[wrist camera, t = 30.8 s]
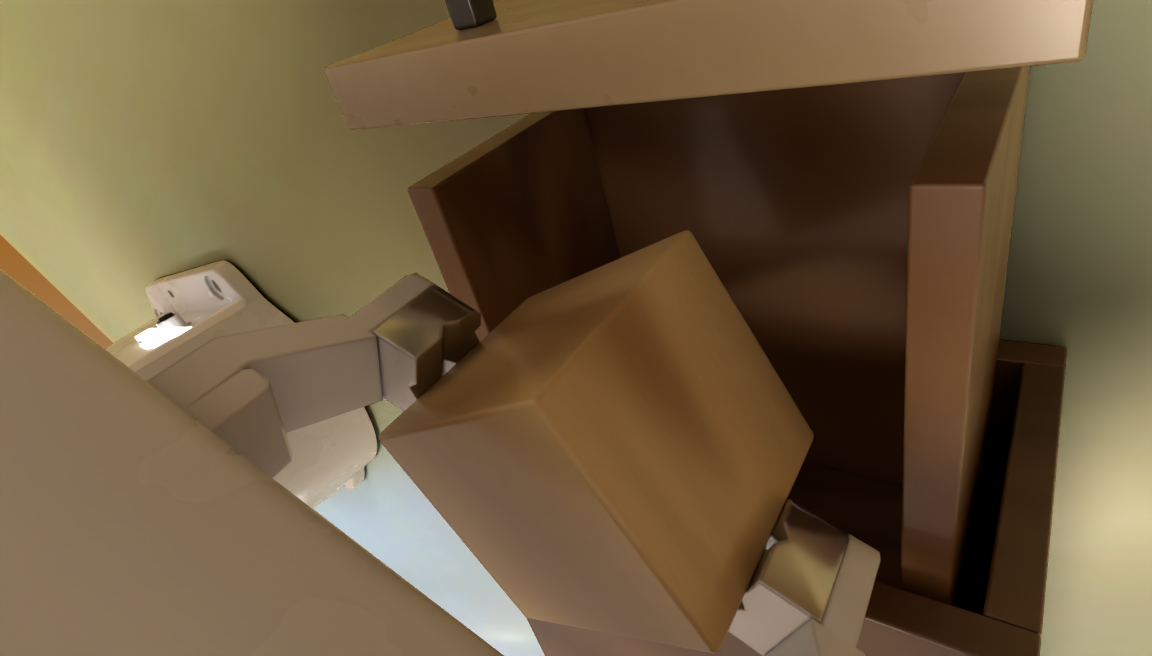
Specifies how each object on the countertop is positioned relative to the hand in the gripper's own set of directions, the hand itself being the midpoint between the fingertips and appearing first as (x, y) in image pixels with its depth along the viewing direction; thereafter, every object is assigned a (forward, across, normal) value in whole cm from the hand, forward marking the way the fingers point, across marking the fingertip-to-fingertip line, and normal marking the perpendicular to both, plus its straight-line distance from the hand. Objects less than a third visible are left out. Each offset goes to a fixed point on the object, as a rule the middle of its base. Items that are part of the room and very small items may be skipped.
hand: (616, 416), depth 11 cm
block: (+2, 0, 0) cm, 2 cm away
